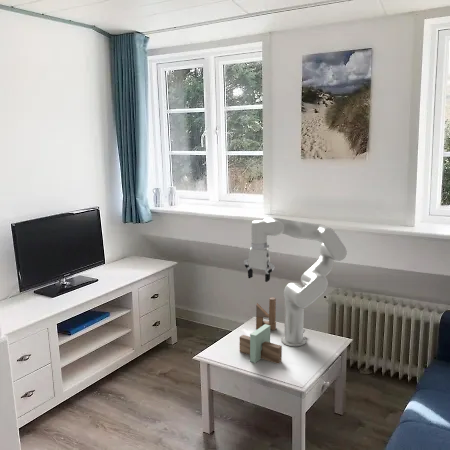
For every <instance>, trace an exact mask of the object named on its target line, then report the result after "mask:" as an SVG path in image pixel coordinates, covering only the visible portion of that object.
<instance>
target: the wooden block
mask: <svg viewBox="0 0 450 450" xmlns="http://www.w3.org/2000/svg"><path fill="white" fill-rule="evenodd" d="M268 302H269V303H268V304H269V305H268V307H269V308H268V312H267V311H266V309H264V308H263V307H262V306H261V305H260V304H259V303H258V302H256V305H255V306H256V307H255V311H256V312H255V313H256V314H255V320H256V321H255V330H257V329H259V328H260V327H262V326H263V325H264V324H267V325H270V331H276V329H277V322H276V316H277V313H276V311H277V306H276V305H277V298H276V297H274V296H273V297H269V300H268ZM265 318H268V320H267V321H265V320H264V319H265Z"/></svg>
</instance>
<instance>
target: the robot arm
mask: <svg viewBox="0 0 450 450" xmlns="http://www.w3.org/2000/svg"><path fill="white" fill-rule="evenodd" d="M250 227H251V241H250V242H251V244H250V245H251V247H250V249H249V253H248V258H247V259H245V260H243V264H244V267H245V268H246V271H247V278H248V279H251V278H253V277H254V275H253V274H254V272H253V269H257V270H263V271H264V272H265V276H264V277H265V278H264V279H265V280H264V281H265V282H266V283H267V282H269V281H270V280H271V273H272V272H273V271H274V269H275V267H276V265H275V264H274V263H272V262H271V257H270V251H269V247H270V245H269V244H268V236H271V237H272V236H273V237H275V236H276V237H278V236H280V235H286V236H289V237H292V238H294V239H298V240H307V241H308V240H309V241H313V242H314V241H315V242H319V243H321V244H320V246H319V248H320V249H319V252H320V253H319V257H318V259H317V260H316V262H314V263H313V265H311V267H309V268H308V269H307V270H306V271H304V272H303V274H301V277H300V282H301V283H302V285H301V284H300V283H298V282H289V283H287V284H286V286H285V287H284V290H283V298H284V335H283V336H281V339H280V340H281V343H282V344H284V345H286V346H289V347H301V346H303V345H305V344H306V342H307V341H306V338H305V336H304V333H305V332H306V330H305V329H304V316H305V315H304V311H305V309H304V308H308V307H309V306H310V305H312V303H314V302H315V301H317V300H318V298H320V296H322V295H324V293H325V292H326V290H327V289H328V286H329V281H328V278H327V277H326V276H328V275H329V274H330V272H332V270H333V267H334V263H335V262H334V261H336V262H341V261H344V260H345V259H346V257H347V255H348V253H347V252H348V251H347V250H348V249H347V247H346V246H345V245H344V242H342V240H341V238H340V237H339V235H338V234H337V232H336V231H335V230H334V229H332V228H331V227H330V226H326V225H324V224H319V223H312V222H306V221H305V222H304V221H299V220H291V219H285V218H279V217H272V216H269V217H268V216H267V217H265V218H264V219H263V220H261V219H256V220H253V221H252V222H251V226H250Z"/></svg>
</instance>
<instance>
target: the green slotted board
mask: <svg viewBox="0 0 450 450" xmlns="http://www.w3.org/2000/svg"><path fill="white" fill-rule="evenodd" d="M249 337H250V355H249V362H251V363H254V364H255V363H256V364H257V362H259V361H260V360H262V359H261V350H262V343H264V342H265V341H266V342H270V343H271V330H270V325H267V324H264V325H263V326H262V327H260V328H259V329H255V330H254V331H252V332H251V333H250V335H249Z"/></svg>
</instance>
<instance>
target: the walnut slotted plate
mask: <svg viewBox="0 0 450 450" xmlns="http://www.w3.org/2000/svg"><path fill="white" fill-rule="evenodd" d="M282 348H283V346H282V345H280V344H278V343H277V344H276V343H274V342H273V343H272V342H271V341H270V342H266V341H265V342H264V343H262V350H261V359H260V360H265V361H268V362H271V363H274V364H277V365H279V364H280V363H282V358H283V357H282V355H283V352H282V351H283V350H282ZM239 353H243V354H245V355H249V356H250V335H249V336H248V335H245V334H241V335H240V336H239Z"/></svg>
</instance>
